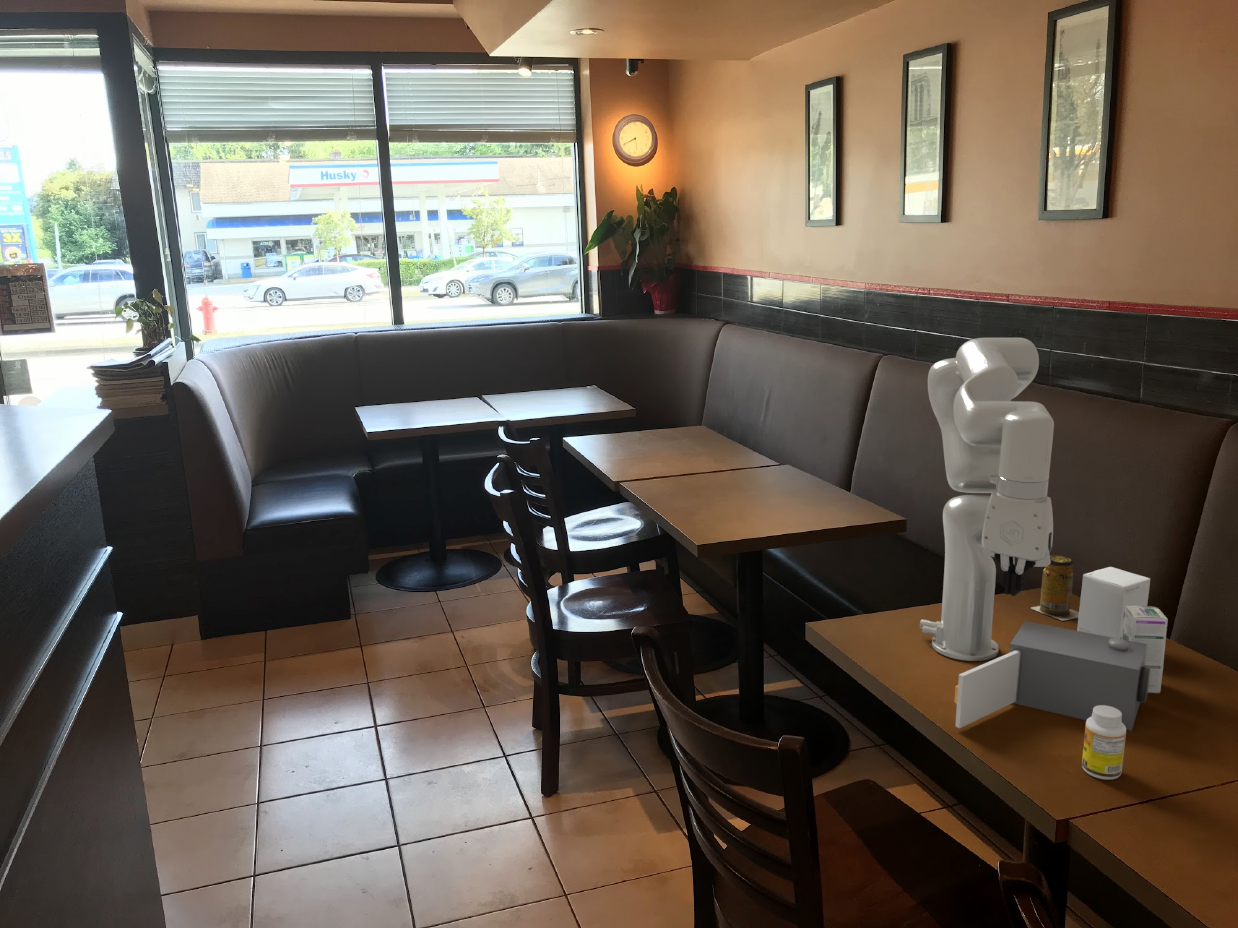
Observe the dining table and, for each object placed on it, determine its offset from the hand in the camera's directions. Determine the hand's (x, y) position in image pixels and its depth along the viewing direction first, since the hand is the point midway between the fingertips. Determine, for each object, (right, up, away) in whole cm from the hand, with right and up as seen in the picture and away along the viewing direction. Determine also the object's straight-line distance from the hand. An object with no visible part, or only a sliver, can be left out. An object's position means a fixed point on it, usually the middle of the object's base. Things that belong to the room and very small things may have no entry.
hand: (1012, 592), depth 162 cm
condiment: (+30, -11, +50) cm, 59 cm away
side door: (-3, -21, +5) cm, 22 cm away
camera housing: (+15, -21, +10) cm, 27 cm away
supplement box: (+32, -15, +32) cm, 48 cm away
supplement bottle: (+9, -26, -12) cm, 30 cm away
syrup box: (+29, -19, +15) cm, 38 cm away
